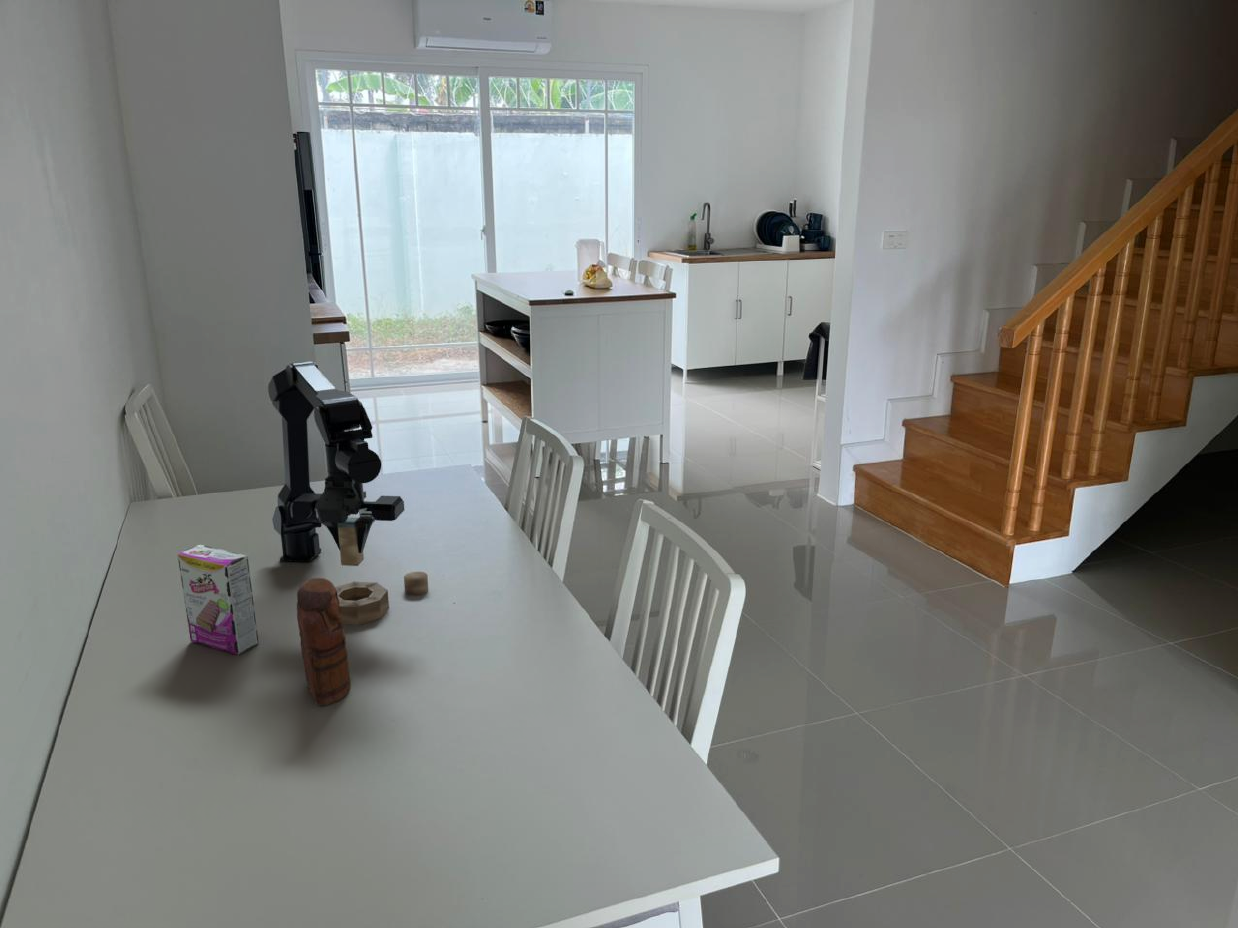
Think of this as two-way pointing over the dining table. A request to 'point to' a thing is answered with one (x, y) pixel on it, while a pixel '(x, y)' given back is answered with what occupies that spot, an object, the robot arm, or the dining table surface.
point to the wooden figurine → (322, 641)
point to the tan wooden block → (349, 543)
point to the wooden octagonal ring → (362, 602)
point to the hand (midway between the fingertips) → (351, 552)
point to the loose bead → (416, 583)
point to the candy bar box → (218, 598)
